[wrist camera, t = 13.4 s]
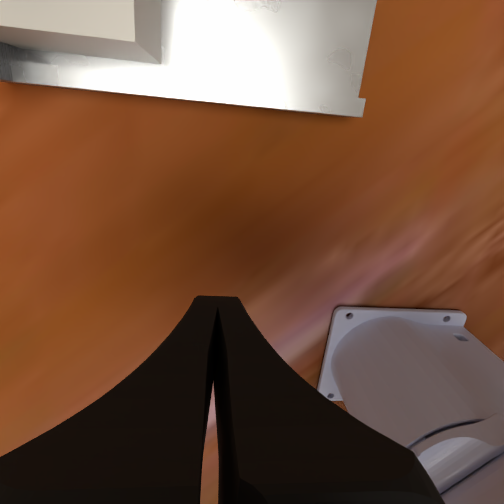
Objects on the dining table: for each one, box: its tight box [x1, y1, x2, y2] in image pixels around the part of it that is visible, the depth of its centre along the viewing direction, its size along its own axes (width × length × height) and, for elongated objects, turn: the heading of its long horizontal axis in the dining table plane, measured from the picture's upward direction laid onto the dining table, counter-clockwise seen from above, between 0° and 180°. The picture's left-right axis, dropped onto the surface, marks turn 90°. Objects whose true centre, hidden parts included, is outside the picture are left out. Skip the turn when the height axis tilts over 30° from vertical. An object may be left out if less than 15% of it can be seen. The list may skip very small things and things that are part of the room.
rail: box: [0, 0, 377, 117], centre depth 13 cm, size 17×7×5 cm, turn 85°
